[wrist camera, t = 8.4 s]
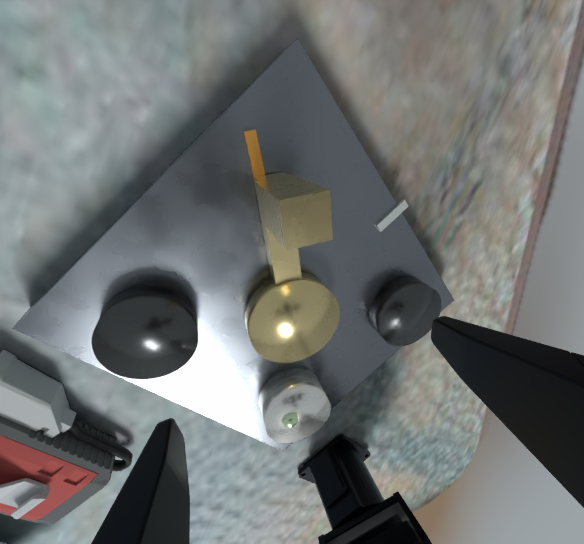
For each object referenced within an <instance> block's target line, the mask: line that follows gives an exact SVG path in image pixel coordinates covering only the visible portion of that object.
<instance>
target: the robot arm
mask: <svg viewBox="0 0 584 544" xmlns="http://www.w3.org/2000/svg"><path fill="white" fill-rule="evenodd" d="M431 339H432V342H433V344H434V345H435V346H436V348H437V349H438V350H439V352H440V353H441V354H442V355H443V357H444V358H445V359H446V360H447V362H448V363H449V364H450V365H451V367H452V368H453V369H454V371H455V372H456V373H457V374H458V375H459V377H460V378H461V379H462V380H463V381H464V382H465V383H466V385H467V386H468V387H469V388H470V389H471V390H472V391H473V392H474V393H475V394H476V395H477V396H478V397H479V398H480V399H481V400H482V401H483V402H484V404H485V405H486V406H487V407H488V408H489V409H490V410H491V411H492V412H493V413H494V414H495V415H496V416H497V417H498V418H499V419H500V420H501V421H502V422H503V423H504V425H505V426H506V427H507V428H508V429H509V430H510V431H511V432H512V433H513V434H514V435H515V436H516V437H517V438H518V439H519V440H520V441H521V442H522V443H523V444H524V446H525V447H527V449H528V450H529V451H530V452H531V453H532V454H533V455H534V456H535V457H536V458H537V459H538V460H539V461H540V462H541V463H542V464H543V465H544V467H545V468H546V469H547V470H548V471H549V472H550V473H551V474H552V475H553V476H554V477H555V478H556V479H557V480H558V481H559V482H560V483H561V484H562V485H563V486H564V487H565V489H566V490H567V491H568V492H569V493H570V494H571V495H572V496H573V497H574V498H575V499H576V500H577V501H578V502H579V503H580V504H581V505H582V506H583V507H584V356H583V355H580V354H576V353H570V352H569V351H566V350H562V349H558V348H555V347H551V346H548V345H544V344H541V343H537V342H534V341H530V340H527V339H523V338H520V337H516V336H513V335H509V334H506V333H502V332H499V331H495V330H492V329H488V328H485V327H481V326H478V325H474V324H471V323H467V322H464V321H460V320H457V319H453V318H450V317H446V316H442V317H439V318H436V319H434V320H433V321H432V331H431ZM369 456H370V452H369V451H368V450H367V449H366V448H364V447H362V446H361V445H359V444H357V443H356V442H354V441H352V440H350V439H349V438H347V437H345V436H344V435H339V436H338V437H336V438H335V439H334V440H333V441H332V442H331V443H330V444H328V445H327V446H326V447H325V448H324V449H323V450H322V451H320V452H319V453H318V454H317V455H316V456H315V457H314V458H312V459H311V460H310V461H309V462H308V463H307V464H306V465H304V466H303V467H302V468H301V469H300V470H299V471H298V475H299V477H300V478H302V479H305V480H307V481H310V482H312V483H315V484H316V487H317V489H318V492H319V495H320V497H321V500H322V503H323V506H324V508H325V511H326V514H327V517H328V519H329V522H330V525H331V527H332V531H330V532H329V533H327V534H325V535H321V536H319V537H318V539H319V544H432V543H431V541H430V540H429V538H428V536H427V535H426V533H425V532H424V530H423V529H422V527H421V526H420V524H419V523H418V521H417V520H416V518H415V517H414V515H413V513H412V512H411V510H410V509H409V507H408V506H407V504H406V503H405V501H404V500H403V498H402V497H401V495H400V494H399V492H398V491H397V492H396V493H394V494H393V496H391V497H389V498H388V499H386V500H384V499H383V497H382V495H381V493H380V491H379V489H378V488H377V486H376V484H375V482H374V480H373V478H372V476H371V474H370V473H369V471H368V469H367V467H366V465H365V463H364V461H365V460H366V459H367V458H368V457H369ZM189 532H190V495H189V484H188V473H187V463H186V453H185V443H184V438H183V435H182V433H181V431H180V429H179V427H178V425H177V424H176V422H175V420H174V419H173V418H170V419H167V420H164V421H162V422H159V423H158V424H157V426H156V427H155V429H154V431H153V433H152V434H151V436H150V438H149V440H148V442H147V444H146V445H145V447H144V449H143V451H142V453H141V454H140V456H139V458H138V460H137V462H136V464H135V465H134V467H133V469H132V471H131V473H130V474H129V476H128V478H127V480H126V482H125V483H124V485H123V487H122V489H121V491H120V493H119V494H118V496H117V498H116V500H115V502H114V503H113V505H112V507H111V509H110V511H109V513H108V514H107V516H106V518H105V520H104V522H103V523H102V525H101V527H100V529H99V531H98V532H97V534H96V536H95V538H94V540H93V542H92V543H91V544H189Z"/></svg>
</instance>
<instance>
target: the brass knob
mask: <svg viewBox="0 0 584 544" xmlns="http://www.w3.org/2000/svg"><path fill="white" fill-rule="evenodd" d="M253 178H254V183H255V189H256V195H257V200H258V206H259V212H260V217H261V223H262V229H263V234H264V240H265V246H266V251H267V257H268V263H269V268H270V274H271V279H269V280H267V281H266V282H264V283H263V284H262V285H261V286H260V287H259V288H258V289H257V290H256V291H255V292H254V293H253V295H252V296H251V298H250V300H249V302H248V304H247V307H246V311H245V324H246V328H247V331H248V334H249V338H250V341H251V344H252V346H253V348H254V349H255V350H256V352H257V353H258V354H259V355H261V356H262V357H264V358H265V359H268V360H270V361H273V362H279V363H290V362H296V361H299V360H302V359H305V358H307V357H309V356H311V355H313V354H315V353H316V352H318V351H319V350H320V349H322V348H323V347H324V346H325V345H326V344H327V343H328V341H329V340H330V339H331V338H332V336H333V334H334V333H335V331H336V328H337V326H338V322H339V317H340V311H339V305H338V302H337V300H336V298H335V296H334V295H333V294H332V293H331V292H330V290H329V289H328V288H327V287H326V286H325V285H324V284H323V283H322V282H321V281H320V280H319V279H318V278H316V277H315V276H313V275H311V274H308V273H303V272H301V268H300V260H299V252H298V248H300V247H304V246H308V245H313V244H317V243H321V242H325V241H329V240H333V232H332V215H331V198H330V190H329V189H327V188H324V187H322V186H320V185H317V184H315V183H312V182H310V181H308V180H305V179H303V178H301V177H298V176H296V175H294V174H292V175H288V174H286V173H284V172H279V173H274V174H268V175H263V176H257V177H253Z"/></svg>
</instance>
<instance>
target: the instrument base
mask: <svg viewBox="0 0 584 544" xmlns="http://www.w3.org/2000/svg"><path fill="white" fill-rule="evenodd" d="M279 172H284V173H286V174H288V175H292V174H294V175H296V176H298V177H301V178H303V179H305V180H308V181H310V182H312V183H315V184H317V185H320V186H322V187H324V188H327V189H329V190H330V198H331V215H332V232H333V240H329V241H325V242H321V243H317V244H313V245H308V246H304V247H300V248H298V252H299V260H300V268H301V272H303V273H308V274H311V275H313V276H315V277H316V278H318V279H319V280H320V281H321V282H322V283H323V284H324V285H325V286H326V287H327V288H328V289H329V290H330V292H331V293H332V294H333V295H334V296H335V298H336V300H337V302H338V305H339V311H340V317H339V322H338V326H337V328H336V331H335V333H334V334H333V336H332V338H331V339H330V340H329V341H328V343H327V344H326V345H325V346H324V347H323V348H322V349H320V350H319V351H318V352H316V353H315V354H313V355H311V356H309V357H307V358H305V359H302V360H299V361H296V362H290V363H279V362H273V361H270V360H268V359H265V358H264V357H262V356H261V355H259V354H258V353H257V352H256V350H255V349H254V348H253V346H252V344H251V341H250V338H249V334H248V331H247V328H246V324H245V311H246V307H247V304H248V302H249V300H250V298H251V296H252V295H253V293H254V292H255V291H256V290H257V289H258V288H259V287H260V286H261V285H262V284H263V283H264V282H266V281H267V280H269V279H271V274H270V268H269V263H268V257H267V251H266V246H265V240H264V234H263V229H262V223H261V217H260V212H259V206H258V200H257V195H256V189H255V183H254V178H253V177H257V176H263V175H268V174H274V173H279ZM407 207H409V206H408V204H407V203H406V201H405V200H404V199H402V200H401V201H400V202H399V203H398V204H397V203H396V202H395V200H394V198H393V197H392V195H391V193H390V192H389V190H388V188H387V187H386V185H385V183H384V182H383V180H382V178H381V177H380V175H379V173H378V172H377V170H376V168H375V167H374V165H373V163H372V162H371V160H370V158H369V157H368V155H367V153H366V152H365V150H364V148H363V147H362V145H361V143H360V141H359V140H358V138H357V136H356V135H355V133H354V131H353V130H352V128H351V126H350V125H349V123H348V121H347V120H346V118H345V116H344V115H343V113H342V111H341V110H340V108H339V106H338V105H337V103H336V101H335V100H334V98H333V96H332V95H331V93H330V91H329V90H328V88H327V86H326V85H325V83H324V81H323V80H322V78H321V76H320V75H319V73H318V71H317V69H316V68H315V66H314V64H313V63H312V61H311V59H310V58H309V56H308V54H307V53H306V51H305V49H304V48H303V46H302V44H301V43H300V41H299V39H297V40H295V41H294V42H293V43H292V44H290V45H289V46H288V47H287V48H285V49H284V50H283V51H282V52H281V53H280V54H279V55H278V56H277V57H276V58H275V59H274V60H273V61H272V62H271V64H270V65H269V66H268V67H267V68H266V69H265V70H264V71H263V72H262V73H261V74H260V75H259V76H258V77H257V78H256V79H255V80H254V81H253V82H252V83H251V84H250V85H249V86H248V87H247V88H246V89H245V90H244V91H243V92H242V93H241V94H240V95H239V96H238V97H237V98H236V99H235V100H234V101H233V102H232V103H231V104H230V105H229V106H228V107H227V108H226V109H225V110H224V111H223V112H222V113H221V114H220V115H219V116H218V117H217V118H216V119H215V120H214V121H213V122H212V123H211V124H210V125H209V127H208V128H207V129H206V130H205V131H204V132H203V133H202V134H201V135H200V136H199V137H198V138H197V139H196V140H195V141H194V142H193V143H192V144H191V145H190V146H189V147H188V148H187V149H186V150H185V151H184V152H183V153H182V154H181V155H180V156H179V157H178V158H177V159H176V160H175V161H174V162H173V163H172V164H171V165H170V166H169V167H168V168H167V169H166V170H165V171H164V172H163V173H162V174H161V175H160V176H159V177H158V178H157V179H156V180H155V181H154V182H153V183H152V184H151V185H150V186H149V187H148V188H147V189H146V191H145V192H144V193H143V194H142V195H141V196H140V197H139V198H138V199H137V200H136V201H135V202H134V203H133V204H132V205H131V206H130V207H129V208H128V209H127V210H126V211H125V212H124V213H123V214H122V215H121V216H120V217H119V218H118V219H117V220H116V221H115V222H114V223H113V224H112V225H111V226H110V227H109V228H108V229H107V230H106V231H105V232H104V233H103V234H102V235H101V236H100V237H99V238H98V239H97V240H96V241H95V242H94V243H93V244H92V245H91V246H90V247H89V248H88V249H87V250H86V251H85V252H84V253H83V255H82V256H81V257H80V258H79V259H78V260H77V261H76V262H75V263H74V264H73V265H72V266H71V267H70V268H69V269H68V270H67V271H66V272H65V273H64V274H63V275H62V276H61V277H60V278H59V279H58V280H57V281H56V282H55V283H54V284H53V285H52V286H51V287H50V288H49V289H48V290H47V291H46V292H45V293H44V294H43V295H42V296H41V297H40V298H39V299H38V300H37V301H36V302H35V303H34V304H33V305H32V306H31V307H30V308H29V310H28V311H27V312H26V313H25V314H24V315H23V317H22V318H21V319H20V320H19V321H18V322H17V324H16V325H15V326H14V327H13V328H12V329H15V330H17V331H19V332H21V333H23V334H26V335H28V336H30V337H32V338H34V339H37V340H39V341H41V342H43V343H45V344H48V345H50V346H52V347H54V348H57V349H59V350H61V351H63V352H65V353H68V354H70V355H72V356H74V357H76V358H79V359H81V360H83V361H85V362H87V363H90V364H92V365H94V366H96V367H98V368H101V369H103V370H105V371H107V372H110V373H112V374H114V375H116V376H118V377H121V378H123V379H125V380H127V381H129V382H132V383H134V384H136V385H138V386H140V387H143V388H145V389H147V390H149V391H151V392H154V393H156V394H158V395H160V396H163V397H165V398H167V399H169V400H171V401H174V402H176V403H178V404H180V405H182V406H185V407H187V408H189V409H191V410H193V411H196V412H198V413H200V414H202V415H205V416H207V417H209V418H211V419H213V420H216V421H218V422H220V423H222V424H224V425H227V426H229V427H231V428H233V429H235V430H238V431H240V432H242V433H244V434H246V435H249V436H251V437H253V438H255V439H258V440H260V441H262V442H264V443H266V444H269V445H271V446H273V447H275V448H277V449H280V450H282V451H284V450H285V449H286V448H287V447H289V446H290V445H291V444H292V443H293V442H296V441H300V440H302V439H305V438H307V437H309V436H311V435H312V434H314V433H315V432H316V431H318V430H319V429H320V428H321V427H322V426H323V425H324V424H325V422H326V421H327V419H328V417H329V415H330V412H331V409H332V408H333V407H334V406H335V405H336V404H337V403H338V402H339V401H341V400H342V399H343V398H344V397H345V396H346V395H347V394H349V393H350V392H351V391H352V390H353V389H354V388H355V387H356V386H358V385H359V384H360V383H361V382H362V381H363V380H364V379H365V378H367V377H368V376H369V375H370V374H371V373H372V372H373V371H375V370H376V369H377V368H378V367H379V366H380V365H381V364H382V363H384V362H385V361H386V360H387V359H388V358H389V357H390V356H391V355H393V354H394V353H395V352H396V351H397V350H398V349H399V348H400V347H402V346H405V345H409V344H412V343H414V342H416V341H417V340H419V339H421V338H422V337H423V336H424V335H426V334H427V333H428V332H429V331H430V330H431V328H432V321H433V320H434V319H436V318H438V317H439V314H440V312H441V311H442V310H443V309H445V308H446V307H447V306H448V305H449V304H450V303H451V302H452V301H454V299H453V297H452V296H451V294H450V292H449V290H448V289H447V287H446V285H445V284H444V282H443V280H442V279H441V277H440V275H439V274H438V272H437V270H436V269H435V267H434V265H433V264H432V262H431V260H430V259H429V257H428V255H427V254H426V252H425V250H424V249H423V247H422V245H421V244H420V242H419V240H418V239H417V237H416V235H415V234H414V232H413V230H412V229H411V227H410V225H409V224H408V222H407V220H406V219H405V217H404V215H403V213H402V212H403V211H404V210H405V209H406V208H407Z"/></svg>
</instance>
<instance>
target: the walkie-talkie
mask: <svg viewBox="0 0 584 544" xmlns="http://www.w3.org/2000/svg"><path fill="white" fill-rule="evenodd" d="M75 416H76V412H74V411H72V410H70V406H69V403H68V400H67V397H66V394H65V391H64V387H63V385H62V384H61V383H59V382H58V381H56V380H54V379H52V378H50V377H49V376H47V375H45V374H43V373H41V372H39V371H38V370H36V369H34V368H32V367H30V366H28V365H27V364H25V363H23V362H21V361H19V360H18V359H17V357H16V356H15V355H13V354H11V353H10V352H8V351H6V350H2V351H1V352H0V514H4V515H8V516H12V517H13V518H14V519H23V520H27V521H31V522H35V523H55V522H57V521H58V520H60V519H61V518H63V517H64V516H65V515H67V514H68V513H69V512H71V511H72V510H74V509H75V508H76V507H78V506H79V505H80V504H82V503H83V502H85V501H86V500H87V499H89V498H90V497H91V496H93V495H94V494H95V493H97V492H98V491H100V490H101V489H102V488H103V487H104V486H106V484H107V483H108V482H109V480H110V478H111V473H112V471H122V470H123V469H125V468H127V467H129V466H130V465H131V462H132V460H131V459H132V453H131V452H130V451H129V450H128V449H126V448H124V447H122V446H120V445H117V439H114V438H112V436H107V435H106V433H101V432H100V430H95V429H93V427H89V426H87V424H83V423H81V421H79V420H78V421H77V420H75ZM115 456H117V457H119V458H121V459H123V460H115Z"/></svg>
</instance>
